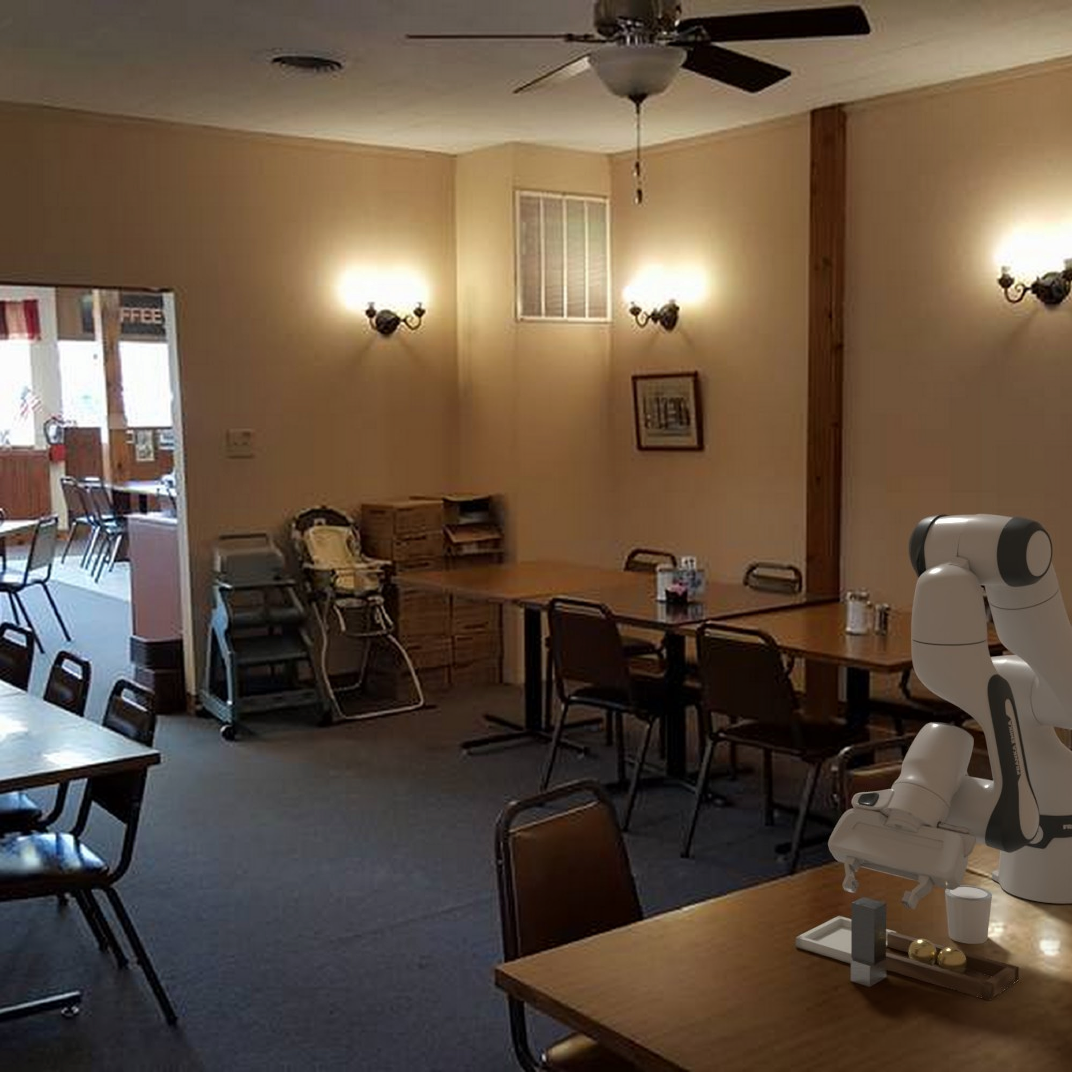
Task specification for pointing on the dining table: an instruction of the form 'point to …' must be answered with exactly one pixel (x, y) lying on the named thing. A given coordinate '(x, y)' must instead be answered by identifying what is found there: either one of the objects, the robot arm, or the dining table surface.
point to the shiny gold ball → (923, 951)
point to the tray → (830, 939)
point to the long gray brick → (868, 941)
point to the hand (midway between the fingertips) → (877, 897)
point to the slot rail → (987, 989)
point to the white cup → (968, 914)
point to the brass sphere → (952, 960)
